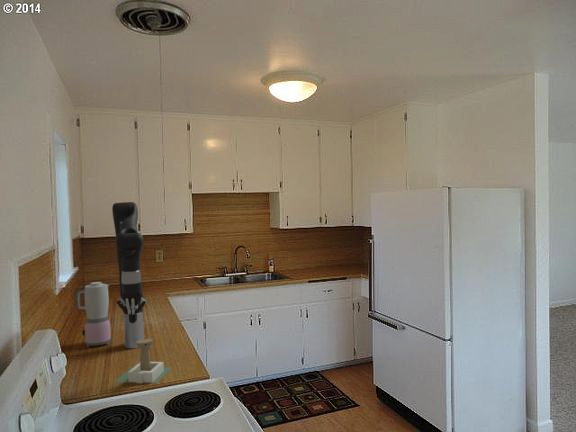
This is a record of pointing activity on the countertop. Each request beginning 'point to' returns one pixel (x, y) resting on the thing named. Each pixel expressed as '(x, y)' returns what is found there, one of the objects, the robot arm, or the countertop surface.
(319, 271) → the countertop surface
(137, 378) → the socket
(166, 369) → the board
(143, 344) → the handle
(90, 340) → the blender
